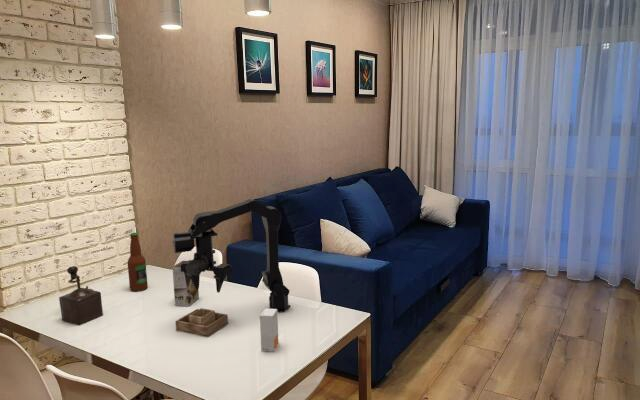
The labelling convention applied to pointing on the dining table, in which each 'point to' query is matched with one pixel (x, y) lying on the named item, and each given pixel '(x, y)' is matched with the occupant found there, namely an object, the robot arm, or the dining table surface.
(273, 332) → the skincare box
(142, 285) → the bottle
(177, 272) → the coffee box
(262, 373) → the dining table surface
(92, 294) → the manual coffee grinder
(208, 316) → the small crate
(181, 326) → the big crate
